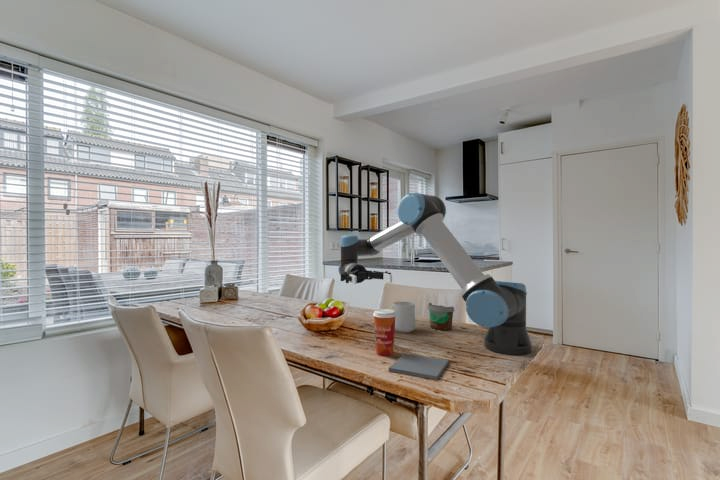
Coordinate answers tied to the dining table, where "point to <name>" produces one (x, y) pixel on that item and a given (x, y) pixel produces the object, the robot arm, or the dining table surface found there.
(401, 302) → the mug
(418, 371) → the pad
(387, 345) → the paper cup
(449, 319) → the food container
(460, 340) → the dining table surface
